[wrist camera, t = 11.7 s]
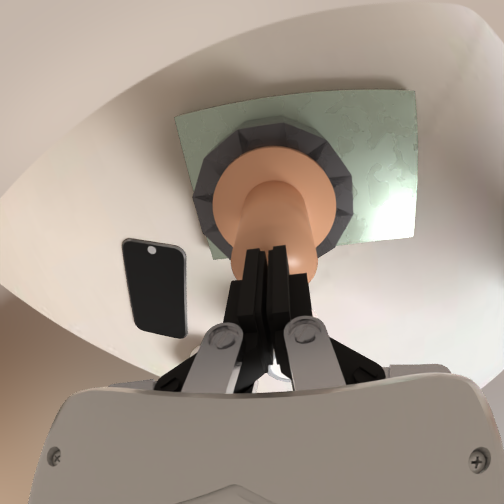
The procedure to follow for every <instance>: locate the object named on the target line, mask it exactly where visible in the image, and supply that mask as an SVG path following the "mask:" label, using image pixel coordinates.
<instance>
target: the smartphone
mask: <svg viewBox="0 0 504 504" xmlns="http://www.w3.org/2000/svg"><path fill="white" fill-rule="evenodd" d="M122 250H123V257H124V264H125V271H126V277H127V284H128V289H129V295H130V302H131V307H132V311H133V316H134V321H135V324H136V326H137V327H138V328H139V329H141V330H143V331H147V332H151V333H155V334H160V335H164V336H169V337H174V338H179V339H181V338H185V337H186V336H187V301H186V254H185V252H184V251H183V249H181V248H180V247H178V246H175V245H169V244H163V243H156V242H150V241H144V240H137V239H126V240H125V241H124V242H123V244H122Z"/></svg>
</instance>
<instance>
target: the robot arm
mask: <svg viewBox="0 0 504 504" xmlns="http://www.w3.org/2000/svg"><path fill="white" fill-rule="evenodd" d="M274 353H275V358H276V363H277V365H280V370H281V373H282V374H284V375H285V376H286V377H288V378H289V379H291V384H292V389H293V391H287V392H270V393H256V392H257V388H258V379H259V378H260V377H261V376H262V375H263V374H265V373H268V367H269V365H273V356H274ZM28 504H504V450H503V446H502V441H501V437H500V433H499V430H498V427H497V424H496V422H495V418H494V415H493V413H492V410H491V408H490V406H489V403H488V401H487V399H486V397H485V395H484V394H483V392H482V390H481V389H480V388H479V386H478V385H477V384H476V383H475V382H474V381H473V380H471V379H469V378H467V377H464V376H461V375H457V374H451V372H450V371H449V369H448V368H447V367H445V366H443V365H439V364H422V365H390V366H389V367H381V366H380V365H379V364H377V363H376V362H374V361H372V360H370V359H368V358H366V357H365V356H363V355H361V354H359V353H357V352H356V351H354V350H352V349H350V348H348V347H347V346H345V345H343V344H341V343H339V342H338V341H336V340H334V339H332V338H331V337H329V335H328V333H327V330H326V327H325V325H324V324H323V322H322V321H321V320H319V319H318V318H316V317H313V315H312V308H311V300H310V293H309V286H308V279H307V273H300V274H292V275H290V273H289V265H288V258H287V250H286V245H280V246H273V250H268V264H267V259H266V253H265V251H260V248H255V249H247V251H246V257H245V264H244V270H243V277H242V280H235V281H232V282H231V285H230V290H229V295H228V300H227V305H226V311H225V316H224V321H223V323H220V324H217V325H215V326H213V327H212V328H210V329H209V330H208V331H207V333H206V334H205V336H204V338H203V341H202V343H201V345H200V348H199V350H198V352H197V353H195V354H194V355H193V356H191V357H190V358H188V359H187V360H185V361H184V362H182V363H181V364H179V365H178V366H177V367H175V368H174V369H172V370H171V371H169V372H168V373H166V374H165V375H163V376H162V377H161V378H160V379H159V380H158V381H154V380H153V379H150V380H143V381H135V382H127V383H118V384H113V385H110V386H108V387H99V388H91V389H86V390H82V391H79V392H76V393H74V394H72V395H71V396H69V397H68V398H67V399H66V400H65V402H64V403H63V404H62V406H61V408H60V409H59V411H58V413H57V415H56V417H55V419H54V421H53V423H52V426H51V428H50V431H49V433H48V436H47V438H46V441H45V443H44V446H43V450H42V452H41V455H40V459H39V462H38V466H37V468H36V472H35V475H34V479H33V483H32V488H31V492H30V497H29V503H28Z"/></svg>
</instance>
